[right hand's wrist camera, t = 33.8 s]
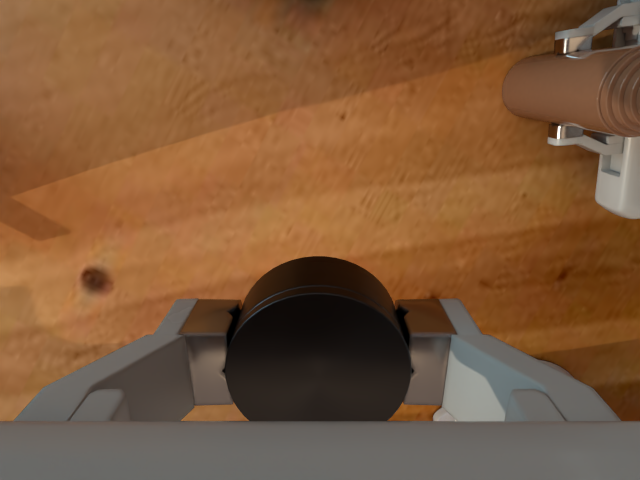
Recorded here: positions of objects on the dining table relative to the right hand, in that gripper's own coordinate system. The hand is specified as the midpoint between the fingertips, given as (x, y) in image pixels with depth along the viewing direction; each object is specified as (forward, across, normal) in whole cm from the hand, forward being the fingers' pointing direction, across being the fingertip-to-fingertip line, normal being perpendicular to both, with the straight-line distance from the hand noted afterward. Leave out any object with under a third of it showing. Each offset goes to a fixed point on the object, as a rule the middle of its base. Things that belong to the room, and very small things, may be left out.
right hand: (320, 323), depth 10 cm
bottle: (+29, +18, +5) cm, 34 cm away
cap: (-2, 0, 0) cm, 2 cm away
